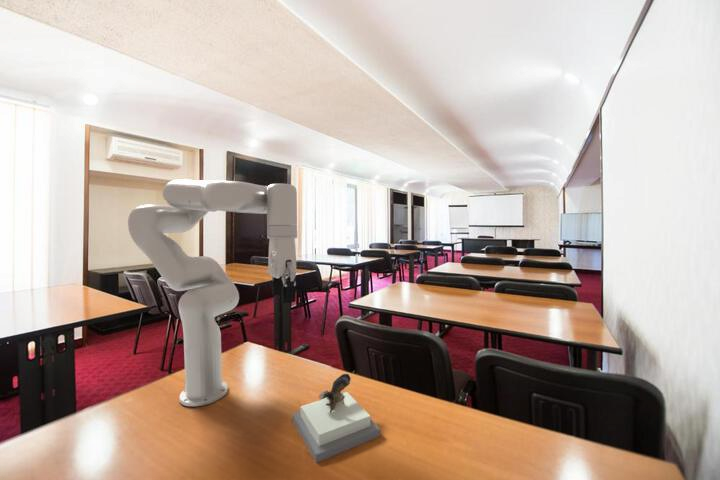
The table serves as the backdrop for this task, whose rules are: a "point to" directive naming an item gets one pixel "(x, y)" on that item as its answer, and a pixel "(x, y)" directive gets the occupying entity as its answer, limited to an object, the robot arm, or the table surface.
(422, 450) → the table surface
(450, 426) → the table surface
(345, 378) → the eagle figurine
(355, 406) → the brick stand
